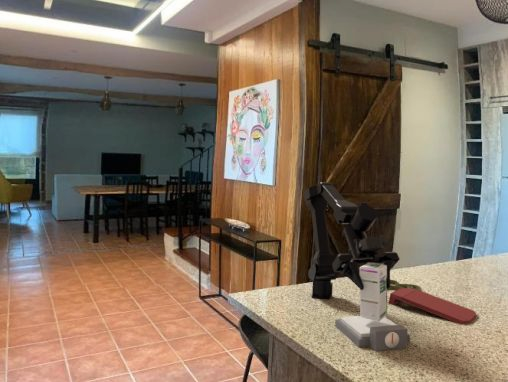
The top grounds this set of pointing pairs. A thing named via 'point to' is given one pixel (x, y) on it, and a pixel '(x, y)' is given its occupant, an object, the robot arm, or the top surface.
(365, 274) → the syrup box
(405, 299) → the red wedge doorstop
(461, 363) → the top surface
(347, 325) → the kitchen scale
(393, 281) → the cookie cutter
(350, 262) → the robot arm
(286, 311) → the top surface
